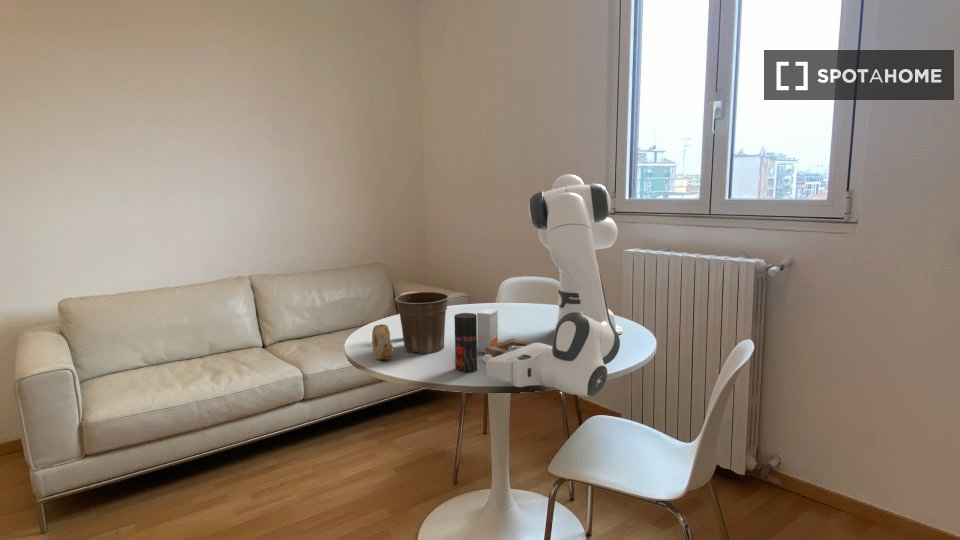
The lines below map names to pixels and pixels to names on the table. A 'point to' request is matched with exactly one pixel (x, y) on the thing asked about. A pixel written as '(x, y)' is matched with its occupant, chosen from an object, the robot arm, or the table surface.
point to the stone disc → (381, 342)
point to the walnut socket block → (504, 347)
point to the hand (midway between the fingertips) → (497, 353)
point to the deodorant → (466, 342)
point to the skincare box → (487, 329)
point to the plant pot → (423, 320)
